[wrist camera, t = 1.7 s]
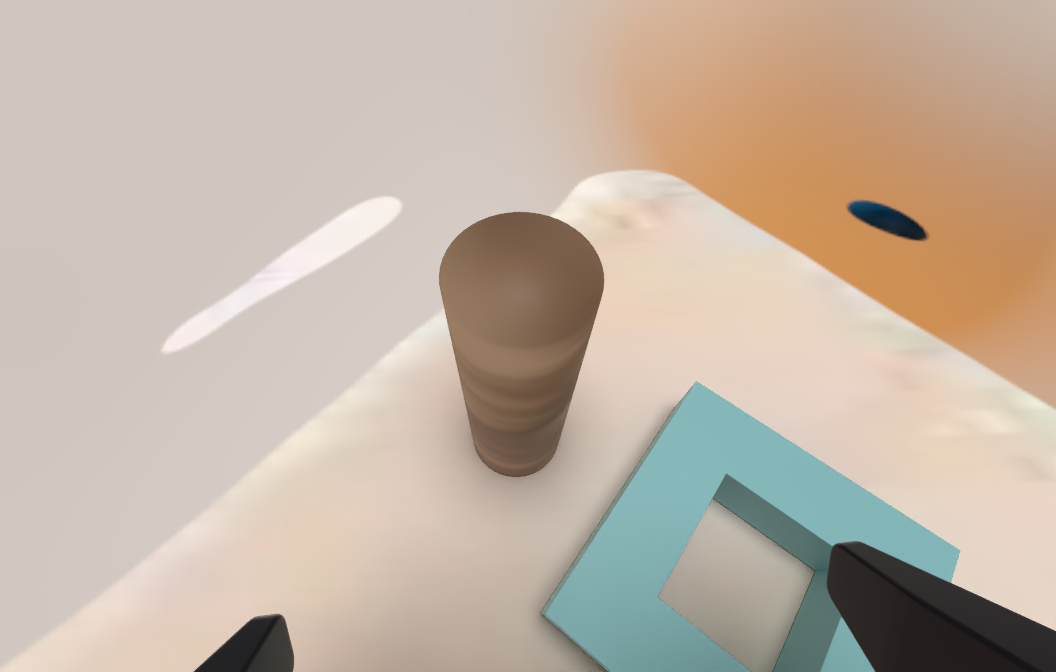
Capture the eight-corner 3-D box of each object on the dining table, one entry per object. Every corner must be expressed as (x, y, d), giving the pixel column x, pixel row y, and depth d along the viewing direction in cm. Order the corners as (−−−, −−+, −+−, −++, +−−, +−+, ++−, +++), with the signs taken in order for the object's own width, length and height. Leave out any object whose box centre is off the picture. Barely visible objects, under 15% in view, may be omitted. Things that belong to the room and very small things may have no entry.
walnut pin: (501, 494, 21) (492, 377, 10) (457, 419, 23) (410, 251, 12) (575, 446, 23) (637, 297, 12) (529, 379, 24) (544, 191, 13)
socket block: (804, 843, 16) (860, 889, 14) (540, 613, 19) (545, 613, 17) (903, 557, 21) (960, 550, 18) (675, 406, 24) (696, 381, 21)
